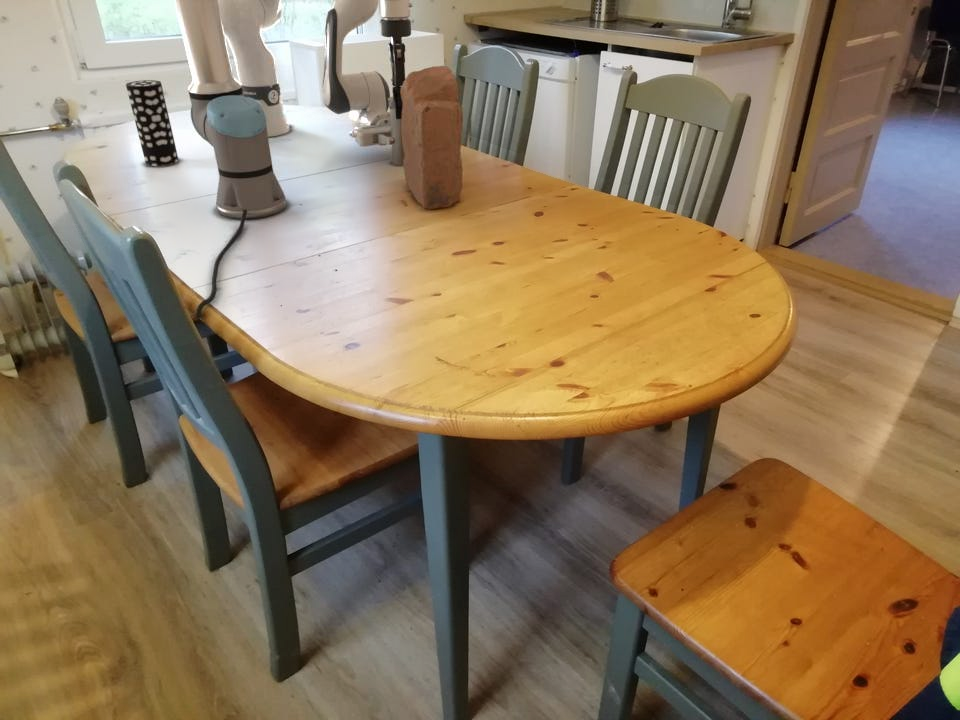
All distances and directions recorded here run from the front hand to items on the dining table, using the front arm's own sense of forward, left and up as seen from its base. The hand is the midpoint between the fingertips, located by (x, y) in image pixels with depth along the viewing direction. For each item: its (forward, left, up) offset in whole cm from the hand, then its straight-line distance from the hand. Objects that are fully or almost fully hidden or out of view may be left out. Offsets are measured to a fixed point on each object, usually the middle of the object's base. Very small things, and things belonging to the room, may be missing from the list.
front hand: (400, 115), depth 182 cm
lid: (0, 0, +4) cm, 4 cm away
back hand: (-1, 0, -6) cm, 6 cm away
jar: (0, 0, -13) cm, 13 cm away
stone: (-27, +3, -13) cm, 30 cm away
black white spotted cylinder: (+30, +58, -2) cm, 65 cm away
